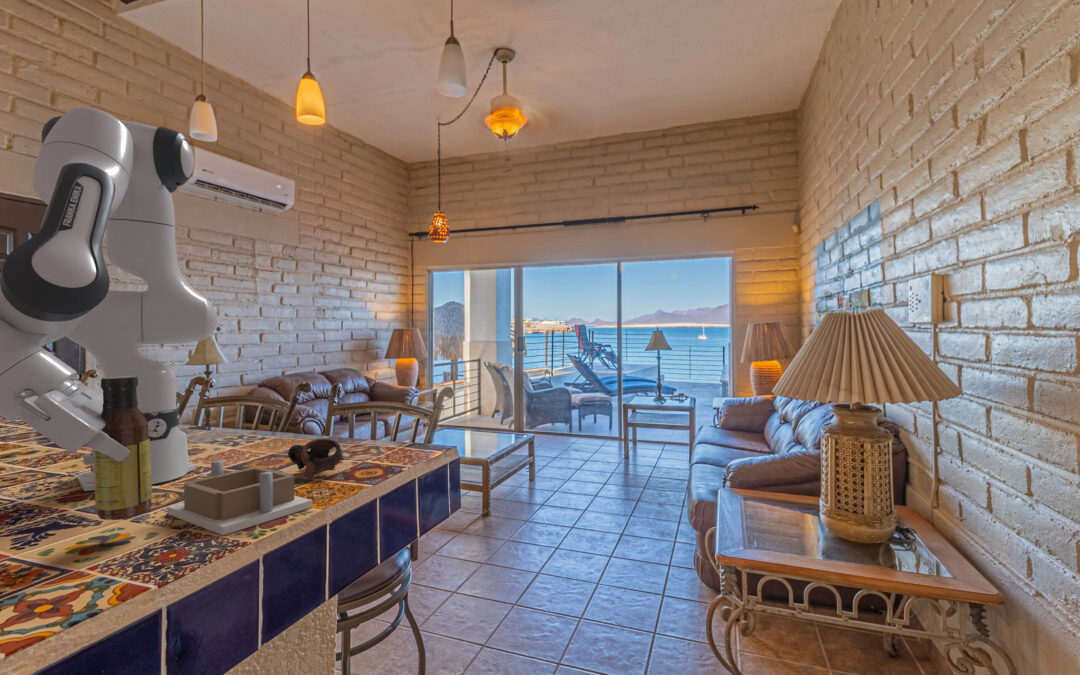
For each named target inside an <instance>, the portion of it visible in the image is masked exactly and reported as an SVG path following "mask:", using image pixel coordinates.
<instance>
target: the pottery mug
mask: <svg viewBox="0 0 1080 675" xmlns="http://www.w3.org/2000/svg"><path fill="white" fill-rule="evenodd" d="M334 448H335V452H334V453H333V454H331V455H329V453H330V451H331V450H333V449H334ZM342 452H343V450H342V449H341V446H340V443H339V442H337V441H336V440H333V439H330V438H322V437H321V438H315V439H312V440H309V441H308V442H307V443H306V444H305V445H302V444H293V445H292V446H290V448H289V449H288V452H287V455H288V457H289V459H290V461H291V462H292V463H293V464H295V465H296V466H297V468H298V470H300V471H301V470H303V469H304V468H305V469H304V472H303V473H304V474H303V476H304V477H305V478H307V479H309V480H311V479H312V478H313V477H314V475H317V474H320V473H323V472H326V471H329V470H332V469H334V468H335V467H336V466H337V465H338V464H340V462H341V461H345V458H344V455H343V454H342Z"/></svg>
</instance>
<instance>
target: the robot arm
mask: <svg viewBox="0 0 1080 675" xmlns="http://www.w3.org/2000/svg"><path fill="white" fill-rule="evenodd" d="M194 165H195V157H194V152H193V150H192V147H191V144H190V142H189V140H188V139H187V138H186V137H185V136H184V134H183V133H182V132H179V131H177V130H174V129H171V128H168V127H165V126H159V127H158V126H154V125H150V124H146V123H141V122H136V121H130V120H125V119H118V118H117V117H115V116H114V115H112V114H110V113H109V112H107V111H106V112H105V111H103V110H102V109H97V108H93V107H76V108H73V109H69V110H68V111H66V112H64V114H63V115H59V116H53V117H51V118H50V119H49V120H48V121H47V122H45V124H44V125H43V127H42V130H41V147H40V149H39V150H38V153H37V156H36V160H35V164H34V166H33V167H34V168H33V171H32V172H33V175H32V190H33V191H34V193H35V194H36V195H37V197H39V199H40V200H41V201H42V202H44V203H45V204H46V205H47V208H46V210H45V213H44V216H43V219H42V222H41V224H40V227H39V230H38V232H37V233H36V234H34V235H33V236H31V237H30V238H29V239H27V240H25V241H24V242H23V243H21V244H20V245H17V247H15V248H14V249H13V250H12V251H10V253H8V255H7V256H6V258H5V260H4V262H3V266H2V267H1V271H0V416H1V417H2V418H4V419H6V421H9V422H11V423H12V422H15V421H17V420H19V419H20V420H22V421H23V422H24V423H25V424H26V425H28V426H29V427H30V428H32V430H35V431H36V432H37V433H39V434H41V435H42V436H43V437H45V438H46V439H48V440H50V441H51V442H52V443H53V444H55V445H57V446H58V447H59V448H61V449H63V450H65V451H68V452H70V453H77V452H78V451H79V450H80V449H81V448H82V447H84V446H86V447H88V448H89V449H92V450H91V452H87V453H83V464H84V465H85V466H88V465H91V467H90V470H86V471H83V472H80V473H78V474H77V480H78V482H79V485H80V487H81V488H82V490H83V491H84V492H89V491H95V476H94V453H93V450H95V451H97V452H100V453H103V454H105V455H108V456H109V457H111V458H113V459H114V460H116V461H118V462H120V461H122V460H123V459H125V458H126V457H127V456H128V455H129V454H130V449H129V448H128V447H126V446H125V445H123V444H122V443H118V442H117V441H115V440H114V439H112V438H110V437H109V435H108V434H106V433H105V432H103V431H102V429H103V428H104V427H105V426H106V422H105V421H104V419H102V418H101V413H102V410H103V397H101V396H99V395H98V394H97V393H96V392H95V391H93V390H92V389H91V388H90V387H88V386H87V385H86V384H84V383H83V382H82V381H80V380H78V378H79V377H80V375H79V374H78V371H77V370H75V369H74V368H72V367H71V366H70V365H69V364H67V363H66V362H64V361H63V360H61V359H60V358H59V357H57V356H56V355H54V354H52V352H49V351H48V350H46V349H45V348H44V347H45V346H47V345H50V344H52V343H54V342H57V341H58V340H61V339H64V338H65V337H66V338H67V339H69V341H72V342H73V343H75V344H77V345H79V346H80V347H82V348H83V349H85V350H86V351H87V352H89V353H90V354H91V355H92V356H93V357H94V358H95V359H96V361H97V362H98V364H99V365H100V367H101V370H102V372H103V374H104V376H105V377H115V376H137V378H138V385H137V387H136V390H137V401H138V406H137V407H138V409H139V410H140V411H141V413H143V414H144V415H145V419H146V420H147V422H148V435H149V438H150V459H151V482H152V485H154V484H159V483H160V484H161V483H165V482H169V481H172V480H176V479H179V478H181V477H183V476H185V475H187V474H188V473H190V472H192V471H194V470H196V464H194V463H189V462H190V460H189V453H188V452H189V451H188V442H187V441H188V438H187V434H186V433H185V432H184V431H182V430H181V429H180V428H179V426H180V411H179V410H180V409H179V408H177V376H176V373H175V372H174V370H173V369H171V367H169V366H168V365H165V364H163V363H161V362H159V361H156V360H152V359H150V358H147V357H144V356H143V355H142V354H141V353H140V352H139V349H138V347H139V346H143V345H178V344H179V345H183V344H189V343H194V342H200V341H204V340H207V339H208V338H210V336H211V335H212V334H213V333H214V331H215V329H216V327H217V323H218V315H217V310H216V308H215V306H214V305H213V303H212V302H211V301H210V300H209V299H208V298H206V297H205V296H203V295H202V294H200V293H199V291H197V290H196V289H194V288H193V287H192V286H191V284H189V282H188V281H187V280H186V278H185V277H184V275H183V273H182V271H181V269H180V265H179V262H178V255H177V245H176V218H175V217H176V216H175V215H176V214H175V207H174V205H175V204H174V201H173V200H174V199H173V195H172V193H175V192H176V191H177V189H178V188H179V187H183V185H185V184H186V183H187V182H188V181H189V180H190V178H191V177H192V174H193V169H194ZM105 234H106V237H105V238H106V256H107V258H108V260H109V261H110V262H111V263H112V264H113V265H114V266H115V267H116V268H118V269H120V270H123V271H124V272H126V273H128V274H130V275H133V276H136V277H138V278H140V279H142V280H143V281H144V282H145V284H146V285H147V287H148V288H147V290H145V291H144V290H143V291H136V290H135V291H133V290H110V284H111V282H110V274H109V271H108V268H107V265H106V262H105V259H104V254H103V241H104V236H105ZM105 377H104V378H105Z"/></svg>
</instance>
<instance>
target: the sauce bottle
mask: <svg viewBox="0 0 1080 675" xmlns="http://www.w3.org/2000/svg"><path fill="white" fill-rule="evenodd" d="M137 385H138V378H137V376H115V377H102V378H101V379H100V388H101V389H102V399H103V410H102V413H101V418H102V419H104V421H105V422H106V426H105V427H104V428H103V429H102V431H103V432H105V433H106V434H108V435H109V437H110V438H112V439H114V440H115V441H117V442H118V443H122V444H123V445H125V446H126V447H128V448H129V449H130V454H129V455H128V456H127V457H126V458H125V459H123V460H122V461H120V462H118V461H116V460H114V459H113V458H111V457H109V456H108V455H105V454H103V453H100V452H97V451H95V450H93V449H92V451H93V453H94V476H95V490H94V496H95V509H96V510H97V516H98V518H99V519H101V520H105V521H106V520H107V521H108V520H109V521H111V520H112V521H117V520H118V521H120V520H125V519H127V518H133V517H137V516H140V515H142V514H144V513H147V512H148V511H150V510H151V508H152V504H153V503H152V498H153V487H152V486H153V484H152V482H151V459H150V438H149V435H148V422H147V420H146V419H145V415H144V414H143V413H141V411H140V410H139V409H138V407H137V406H138V401H137V390H136V387H137Z"/></svg>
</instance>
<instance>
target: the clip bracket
mask: <svg viewBox="0 0 1080 675" xmlns="http://www.w3.org/2000/svg"><path fill="white" fill-rule="evenodd" d="M210 474H211V475H210V476H208V477H203V478H199V479H194V480H191V481H190V480H189V481H186V482H184V484H183V488H184V489H183V490H184V491H183V493H184V496H183V498H184V499H183V500H184V502H181V503H177V504H173V505H172V504H171V505H169V506H167V508H166V510H167V512H166V513H167V515H169V516H171V517H174V518H177V519H179V520H181V521H185V522H188V523H190V524H192V525H195V526H198V527H200V528H202V529H206V530H207V531H210V532H213V533H216V534H218V535H221V536H225V535H229V534H232V533H235V532H239V531H242V530H244V529H248V528H250V527H251V528H252V527H254V526H257V525H260V524H264V523H266V522H270V521H273V520H276V519H279V518H283V517H286V516H289V515H291V514H292V515H293V514H295V513H299V512H301V511H302V512H303V511H305V510H309V509H311V508H313V500H312V499H308V498H307V497H306V498H304V497H301V496H298V495H295V476H294V474H292V473H289V472H283V471H281V470H275V469H271V468H266V467H250V468H244V469H241V470H236V471H231V472H226V473H224V460H215V461H211V463H210Z"/></svg>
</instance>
